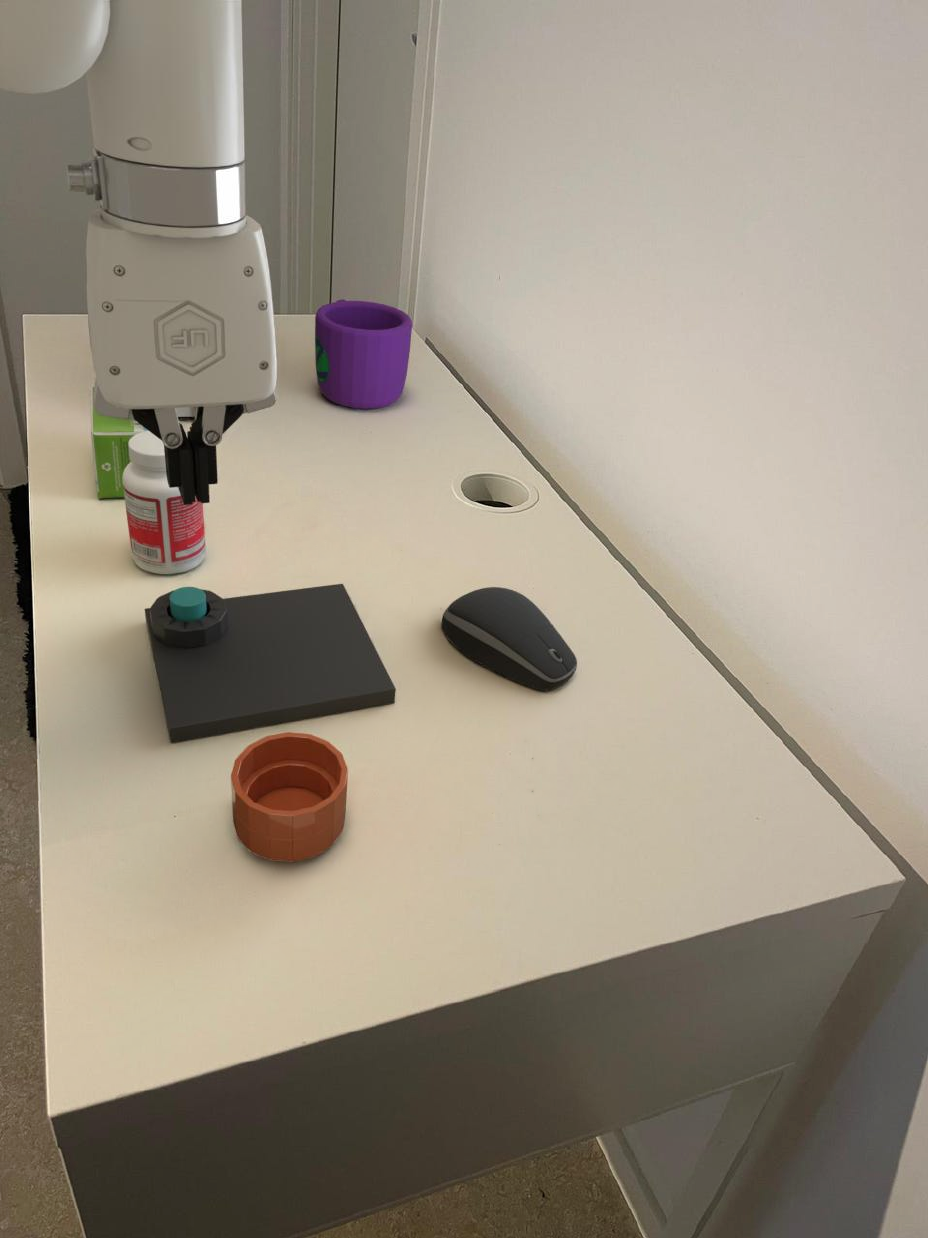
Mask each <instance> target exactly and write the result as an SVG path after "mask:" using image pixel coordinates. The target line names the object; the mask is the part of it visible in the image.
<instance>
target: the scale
mask: <svg viewBox="0 0 928 1238" xmlns="http://www.w3.org/2000/svg"><path fill="white" fill-rule="evenodd" d="M200 589H201V590H202V591H203V592H204V593H205V595H206V609H207V613H206V615H205V616H204V617H203V618H201V619H199V620H196V621H188V622H185V621H179V620H175V619H174V618H173V617H172V615H171V608H170V595H171V593H172V592H173V591H174V590H170V591H169V592H166V593H165V594H162V595H160V596H158V597H157V598H156V599H155V601H154V602H153V603H152V605H151V606H150V607H147V608H144V618H145V625H146V630H147V634H148V639H149V645H150V650H151V654H152V659H153V663H154V668H155V672H156V679H157V682H158V687H159V692H160V698H161V703H162V707H163V713H164V716H165V717H164V718H165V721H166V727H167V731H168V735H169V736H168V737H169V741H170V744H175V743H180V742H185V741H191V740H196V739H203V738H209V737H213V736H218V735H224V734H230V733H235V732H241V731H246V730H252V729H256V728H257V729H258V728H262V727H263V728H264V727H268V726H274V725H281V724H286V723H291V722H296V721H302V720H307V719H312V718H313V719H314V718H318V717H324V716H329V715H335V714H340V713H347V712H352V711H356V710H362V709H368V708H374V707H378V706H385V705H389V704H391V705H392V704H395V701H396V690H397V689H396V687H395V685H394V683H393V680H392V678H391V676H390V675H389V673H388V671H387V669H386V667H385V665H384V663H383V660H382V659H381V657H380V655H379V652H378V650H377V649H376V646H375V645H374V642H373V641H372V639H371V637H370V635H369V633H368V630H367V629H366V627H365V625H364V623H363V621H362V619H361V616H360V614H359V613H358V611H357V608H356V607H355V605H354V603H353V601H352V599H351V597H350V594H349V593H348V591H347V589H346V587H345V585H344V583H336V584H328V585H320V586H312V587H305V588H295V589H289V590H281V591H272V592H265V593H259V594H258V593H257V594H256V593H255V594H249V595H242V596H241V595H240V596H234V597H226V598H223V597H221V596H219V594H216V593H215V592H213V591H211V590H209V589H202V588H200Z"/></svg>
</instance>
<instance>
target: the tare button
mask: <svg viewBox="0 0 928 1238" xmlns="http://www.w3.org/2000/svg"><path fill="white" fill-rule="evenodd" d="M201 589H202V588H199V587H196V586H183V587H179V588H176V589H174V590H172V591H173V592H172V593H171V595H170V608H171V615H172V617H173V618H174V619H175V620H179V621H185V622H188V621H196V620H199V619H201V618H203V617H204V616H205V615H206V613H207V609H206V595H205V593H204V592H203V591H202V590H201Z"/></svg>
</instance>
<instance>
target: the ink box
mask: <svg viewBox="0 0 928 1238" xmlns="http://www.w3.org/2000/svg"><path fill="white" fill-rule="evenodd" d="M93 392H94V386H91V387H90V388H89V397H90V398H89V399H90V400H89V401H90V403H89V404H90V437H91V448H92V457H93V469H94V477H95V485H96V486H95V487H96V494H97V499H98V500H101V499H102V500H103V499H125V496H124V489H123V479H122V477H123V472H124V469H125V468H126V466H127V465H128V464H129V463H130V462H131V461H130V458H129V446H128V443H129V440H130V439H131V438H132V437H133V436H135V435H136V434H139V433H142V432H145V431H148V430H147V429H146V428H145V427H143V426H142V425H141V424H139V423H138V422H137V421H136V420H131V419H128V420H125V419H119V418H112V417H106V416H101V415H99V414H97V413H96V411H95V409H94V404H93Z"/></svg>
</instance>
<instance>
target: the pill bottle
mask: <svg viewBox="0 0 928 1238" xmlns="http://www.w3.org/2000/svg"><path fill="white" fill-rule="evenodd" d="M128 446H129V458H130V461H131V462H130V463H129V464H128V465H127V466H126V468H125V469H124V472H123V477H122V479H123V489H124V496H125V498H124V504H125V512H126V521H127V528H128V537H129V543H130V548H131V549H130V551H131V556H132V560H133V561H134V563H135V564H136V566H138V567H139V568H140V569H142V570H143V571H146V572H149V573H152V574H158V575H176V574H181V573H186V572H189V571H191V570H193V569H195V568H196V567H198V566H199V565H200V564H201V563H202V562H203V561H204V559H205V557H206V552H207V547H206V545H207V544H206V533H205V532H206V531H205V519H204V518H205V517H204V505H203V504H204V503H201V502H198V501H197V499H196V496H195V502H193V504H190V505H184V503H183V501H182V498H181V495H180V492H179V489H178V487H173V488H169V485H168V481H167V475H166V464H165V452H164V444H163V442H162V440H160V439H159V438H158V437H156V436H155V435H154V434H152V433H151V432H150V431H145V432H142V433H139V434H136V435H135V436H133V437H132V438H131V439H130V440H129V443H128Z"/></svg>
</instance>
